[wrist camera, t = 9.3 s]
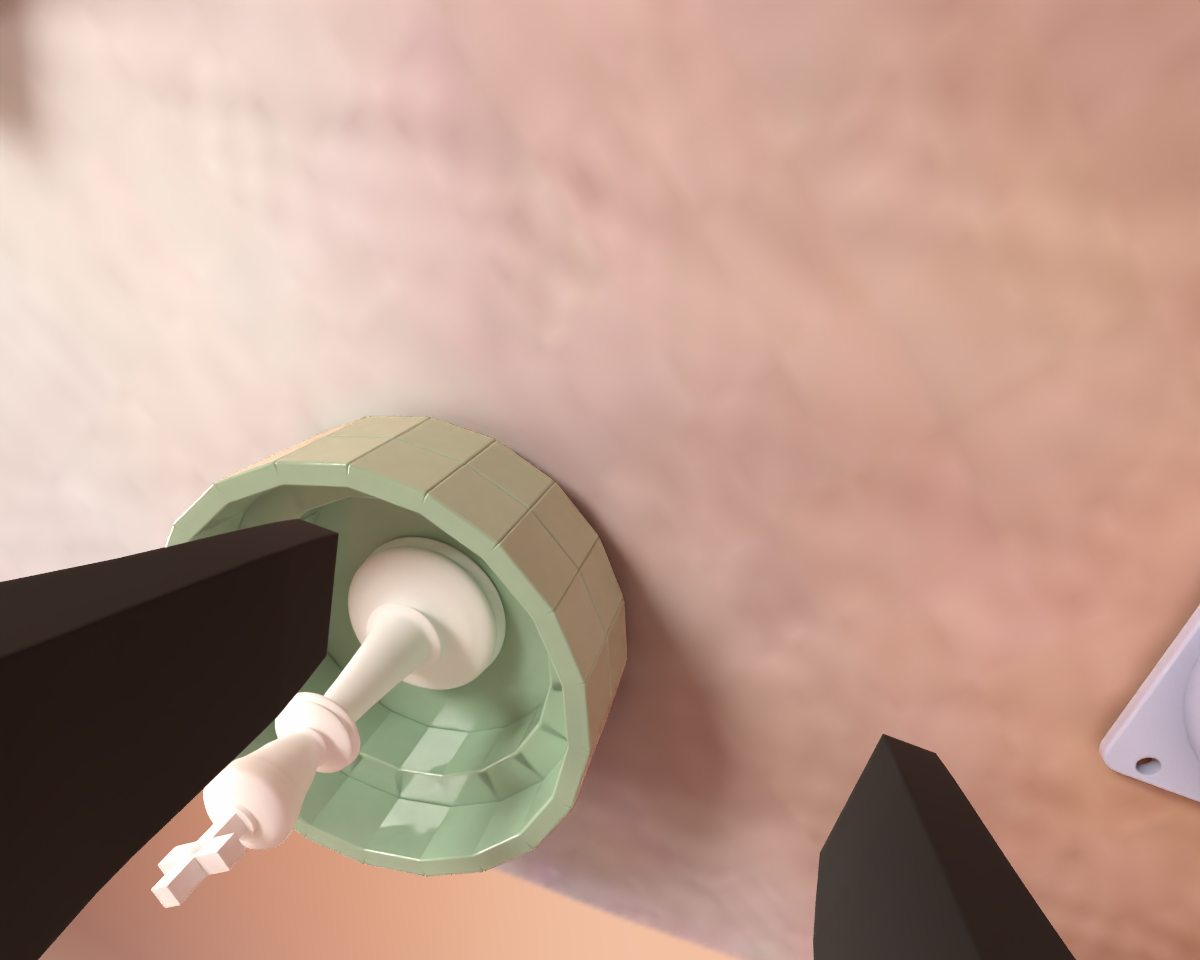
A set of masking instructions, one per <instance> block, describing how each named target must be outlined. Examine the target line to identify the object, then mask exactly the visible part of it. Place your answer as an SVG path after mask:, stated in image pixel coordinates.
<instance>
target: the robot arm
mask: <svg viewBox="0 0 1200 960" xmlns="http://www.w3.org/2000/svg"><path fill="white" fill-rule="evenodd" d="M338 536H339V533H337V532H334V531H331V530H329V529H326V528H323V527H320V526H318V525H315V524H312V523H310V522H307V521H304V520H301V519H299V518H298V519H292V520H285V521H279V522H274V523H269V524H264V525H259V526H254V527H250V528H245V529H241V530H237V531H232V532H228V533H224V534H219V535H215V536H211V537H207V538H203V539H198V540H194V541H190V542H186V543H181V544H177V545H173V546H168V547H164V548H160V549H156V550H151V551H147V552H143V553H139V554H134V555H130V556H126V557H121V558H117V559H112V560H107V561H103V562H98V563H93V564H88V565H83V566H78V567H73V568H68V569H63V570H58V571H53V572H49V573H44V574H39V575H34V576H29V577H24V578H19V579H14V580H9V581H4V582H0V960H38V959H39V958H40V957H41V955H42V954H43V953H44V952H45V951H46V950H47V949H48V948H49V946H50V945H51V944H52V943H53V942H54V941H55V940H56V939H57V937H58V936H59V935H60V934H61V933H62V932H63V931H64V930H65V928H66V927H67V926H68V925H69V924H70V923H71V922H72V920H73V919H74V918H75V917H76V916H77V914H79V913H80V911H81V910H82V909H83V908H84V907H85V906H86V905H87V903H88V902H89V901H90V900H91V899H92V898H93V897H94V896H95V894H96V893H97V892H98V891H99V890H100V889H101V888H102V887H103V886H104V885H105V884H106V883H107V882H108V881H109V880H110V879H111V878H112V877H113V876H114V875H115V874H116V873H117V872H118V871H119V870H120V869H121V868H122V867H123V865H125V864H126V863H127V862H128V861H129V859H130V858H131V857H132V856H134V854H136V853H137V851H138V850H140V849H141V848H142V847H143V846H144V845H145V844H146V843H147V842H148V841H149V840H150V839H151V838H152V837H153V836H154V835H155V834H157V833H158V832H159V830H161V829H162V828H163V827H164V826H165V825H166V824H167V823H168V822H169V821H170V820H171V819H172V818H173V817H174V816H175V815H176V814H177V813H178V812H180V811H181V810H182V809H183V808H184V807H185V806H186V805H187V804H188V803H189V802H190V801H191V800H192V799H193V798H194V797H195V796H196V795H197V794H198V793H199V792H200V791H201V790H203V789H204V788H205V787H206V786H207V785H208V784H209V783H210V782H211V781H212V780H213V779H214V778H215V777H216V776H217V775H218V774H219V773H220V772H221V771H222V770H224V769H225V768H226V767H227V766H228V765H229V764H230V763H231V762H232V761H233V760H234V759H235V758H236V757H237V756H238V755H239V754H240V753H241V752H242V751H243V750H244V749H245V748H246V747H247V746H248V745H249V744H250V743H251V742H252V741H253V740H254V739H256V738H257V737H258V736H259V735H260V734H261V733H262V732H263V731H264V730H265V729H266V728H267V727H268V726H269V725H270V724H271V723H272V722H273V721H274V720H275V719H276V718H277V717H278V716H279V714H280V713H281V712H282V711H283V710H284V708H285V707H286V706H287V705H288V704H289V702H290V701H291V700H292V699H293V698H294V696H295V695H296V694H297V693H298V692H299V690H300V689H301V688H302V687H303V685H304V684H305V683H306V682H307V680H308V679H309V678H310V676H311V675H312V674H313V673H314V671H315V670H316V669H317V667H318V666H319V665H320V664H321V662H322V661H323V660H324V658H325V657H326V656H327V646H328V636H329V626H330V616H331V606H332V596H333V586H334V576H335V566H336V556H337V546H338ZM1099 753H1100V755H1101V757H1102V759H1103V761H1104V763H1105V764H1106V765H1107V766H1108V768H1110V769H1112V770H1113V771H1115V772H1118V773H1120V774H1123V775H1126V776H1129V777H1131V778H1134V779H1137V780H1140V781H1142V782H1145V783H1148V784H1150V785H1153V786H1156V787H1159V788H1161V789H1164V790H1167V791H1170V792H1172V793H1175V794H1178V795H1180V796H1183V797H1186V798H1189V799H1191V800H1194V801H1197V802H1200V604H1199V606H1198V607H1197V609H1196V610H1195V611H1194V613H1193V614H1192V616H1191V617H1190V618H1189V620H1188V621H1187V623H1186V624H1185V625H1184V627H1183V628H1182V630H1181V631H1180V632H1179V634H1178V635H1177V636H1176V638H1175V639H1174V641H1173V642H1172V643H1171V645H1170V646H1169V648H1168V649H1167V650H1166V652H1165V653H1164V655H1163V656H1162V657H1161V659H1160V660H1159V662H1158V663H1157V664H1156V666H1155V667H1154V668H1153V670H1152V671H1151V673H1150V674H1149V675H1148V677H1147V678H1146V680H1145V681H1144V682H1143V684H1142V685H1141V687H1140V688H1139V689H1138V691H1137V692H1136V694H1135V695H1134V696H1133V698H1132V699H1131V701H1130V702H1129V703H1128V705H1127V706H1126V707H1125V709H1124V710H1123V712H1122V713H1121V714H1120V716H1119V717H1118V719H1117V720H1116V721H1115V723H1114V724H1113V726H1112V727H1111V728H1110V730H1109V731H1108V733H1107V734H1106V735H1105V737H1104V738H1103V739H1102V741H1101V743H1100V745H1099ZM1148 757H1149V758H1153V759H1152V760H1151V761H1150V762H1148V763H1144V764H1140V763H1137V762H1138V761H1139V760H1141V759H1143V758H1148ZM813 947H814V960H1076V959H1075V958H1074V956H1073V955H1072V953H1071V952H1070V951H1069V949H1068V948H1067V946H1066V945H1065V944H1064V942H1063V941H1062V939H1061V938H1060V936H1059V935H1058V933H1057V932H1056V931H1055V929H1054V928H1053V926H1052V925H1051V923H1050V922H1049V921H1048V919H1047V918H1046V916H1045V915H1044V913H1043V912H1042V910H1041V909H1040V907H1039V906H1038V904H1037V903H1036V902H1035V900H1034V899H1033V897H1032V896H1031V894H1030V893H1029V891H1028V890H1027V888H1026V887H1025V885H1024V884H1023V882H1022V881H1021V879H1020V878H1019V876H1018V875H1017V873H1016V872H1015V870H1014V869H1013V867H1012V866H1011V864H1010V863H1009V861H1008V860H1007V858H1006V857H1005V855H1004V854H1003V852H1002V851H1001V849H1000V848H999V846H998V845H997V843H996V842H995V840H994V839H993V837H992V836H991V834H990V833H989V831H988V830H987V828H986V827H985V825H984V824H983V822H982V821H981V819H980V817H979V816H978V814H977V813H976V811H975V810H974V808H973V807H972V805H971V804H970V802H969V801H968V799H967V798H966V796H965V795H964V793H963V792H962V790H961V789H960V787H959V786H958V784H957V783H956V781H955V780H954V778H953V777H952V775H951V774H950V773H949V771H948V770H947V768H946V767H945V765H944V764H943V763H942V761H941V760H940V759H939V757H938V756H937V754H936V753H933V752H931V751H928V750H925V749H922V748H920V747H917V746H914V745H912V744H909V743H906V742H903V741H901V740H898V739H895V738H893V737H890V736H887V735H885V734H883V735H882V737H881V738H880V740H879V742H878V744H877V746H876V748H875V750H874V752H873V754H872V756H871V757H870V759H869V761H868V763H867V765H866V767H865V769H864V771H863V773H862V774H861V776H860V778H859V780H858V782H857V784H856V786H855V788H854V790H853V791H852V793H851V795H850V797H849V799H848V801H847V803H846V805H845V807H844V808H843V810H842V812H841V814H840V816H839V818H838V820H837V822H836V824H835V826H834V827H833V829H832V831H831V833H830V835H829V837H828V839H827V841H826V843H825V844H824V846H823V848H822V850H821V852H820V859H819V871H818V882H817V893H816V907H815V922H814V938H813Z"/></svg>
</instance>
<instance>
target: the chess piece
mask: <svg viewBox="0 0 1200 960" xmlns="http://www.w3.org/2000/svg"><path fill="white" fill-rule="evenodd" d="M348 610H349V616H350V620H351V624H352V627H353V629H354V632H355V634H356V636H357V638H358V640H359V642H360V643H361V647H360V648H359V649H358V651H357V652H356V653H355V655H354V656H353V658H352V659H351V660H350V662H349V663H348V664H347V666H346V667H345V668H344V670H343V671H342V672H341V674H340V675H339V677H338V678H337V679H336V681H335V682H334V683H333V684H332V685H331V687H330V688H329V689H328V691H327V692H326V693H325V694H324V696H323V695H320V694H316V693H311V692H301V693H297V694H296V695H295V696H294V698H293V699H292V700H291V701H290V702H289V704H288V705H287V706H286V707H285V708H284V710H283V711H282V712H281V713H280V714H279V716H278V717H277V718H276V719H275V729H276V734H277V737H278V739H276V740H274V741H272V742H269V743H267V744H266V745H264V746H262V747H261V748H260V749H258V750H256V751H254V752H252V753H250V754H248V755H246V756H244V757H241V758H238V759H236V760H234V761H232V762H231V763H230V764H229V765H228V766H227V767H226V768H225V769H224V770H222V771H221V772H220V773H219V774H218V775H217V776H216V777H215V778H214V779H213V780H212V781H211V782H210V783H209V784H208V785H207V786H206V787H205V788H204V804H205V808H206V811H207V813H208V815H209V817H210V819H211V820H212V822H213V823H214V824H213V825H212V826H211V827H210V828H209V829H208V830H207V831H206V833H205V834H204V835H203V836H202V837H201V838H200V839H199V840H198V841H197V842H193V843H189V844H185V845H180V846H176V847H175V848H174V849H173V850H172V851H171V852H170V853H169V854H168V855H167V856H166V857H165V858H164V859H163V860H162V861H161V862H160V863H159V864H158V866H159V868H160V869H161V870H162V872H163V873H164V874H165V875H164V877H163V878H162V879H161V880H160V881H159V882H158V883H157V884H156V885H155V886H154V887H153V888H152V891H153V893H154V894H155V895H156V897H157V898H158V899H159V901H160V902H161V903H162V905H163V906H164V907H165V908H166V907H172V906H178V905H181V904H182V903H183V902H184V901H185V899H186V898H187V897H188V896H189V895H190V894H191V893H192V891H193V890H194V889H195V888H196V887H197V886H198V885H199V884H200V883H201V881H202V880H203V879H204V878H205V877H206V876H207V875H210V874H214V873H219V872H225V871H229V870H231V869H232V868H233V866H234V865H235V864H236V863H237V862H238V861H239V859H240V858H241V857H242V856H243V855H244V853H245V852H246V849H245V848H244V847H247V848H251V849H258V850H265V849H272V848H275V847H277V846H279V845H281V844H282V843H283V842H284V841H286V839H287V838H288V837H289V835H290V834H291V832H292V830H293V828H294V826H295V824H296V821H297V819H298V817H299V814H300V811H301V806H302V804H303V801H304V799H305V796H306V794H307V792H308V790H309V788H310V786H311V784H312V782H313V779H314V776H315V773H316V772H321V773H333V772H337V771H340V770H342V769H343V768H345V767H346V766H348V765H350V764H351V763H352V762H353V761H354V760H355V759H356V758H357V756H358V754H359V751H360V735H359V732H358V729H357V727H356V725H355V722H356V721H357V720H358V719H360V718H361V717H362V716H363V715H364V714H365V713H366V712H367V711H368V710H369V709H370V708H371V707H372V706H373V705H374V704H376V703H377V702H378V701H379V700H380V699H381V698H382V697H383V696H385V695H386V694H387V693H388V692H389V691H390V690H392V689H393V688H394V687H395V686H396V685H397V684H398V683H400V682H401V681H404V682H406V683H408V684H411V685H414V686H417V687H421V688H426V689H433V690H445V689H452V688H457V687H460V686H463V685H465V684H467V683H469V682H471V681H473V680H474V679H475V678H477V677H478V676H479V675H480V674H481V673H482V672H483V671H484V670H485V669H486V668H487V667H488V666H490V665H491V663H492V662H493V661H494V660H495V659H496V657H497V656H498V654H499V652H500V650H501V648H502V645H503V642H504V638H505V630H506V621H505V613H504V609H503V605H502V602H501V599H500V597H499V594H498V592H497V590H496V588H495V587H494V585H493V583H492V582H491V580H490V579H489V577H488V576H487V575H486V573H485V572H484V571H483V570H482V569H481V568H480V567H479V566H478V565H477V564H476V563H475V562H474V561H473V560H472V559H470V558H469V557H468V556H467V555H465V554H464V553H462V552H461V551H459V550H457V549H456V548H454V547H452V546H450V545H448V544H445V543H443V542H440V541H437V540H433V539H429V538H423V537H404V538H398V539H395V540H392V541H389V542H387V543H385V544H383V545H381V546H379V547H378V548H377V549H375V550H374V551H373V552H372V553H371V554H370V555H369V556H368V558H367V559H366V560H365V562H364V563H363V564H362V565H361V566H360V567H359V569H358V570H357V572H356V573H355V575H354V577H353V579H352V582H351V585H350V588H349V594H348Z"/></svg>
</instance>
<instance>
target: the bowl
mask: <svg viewBox="0 0 1200 960" xmlns="http://www.w3.org/2000/svg"><path fill="white" fill-rule="evenodd" d="M298 518H299V519H301V520H304V521H307V522H310V523H312V524H315V525H318V526H320V527H323V528H326V529H329V530H331V531H334V532H337V533H339V536H338V546H337V556H336V566H335V576H334V586H333V596H332V606H331V616H330V626H329V636H328V646H327V656H326V657H325V658H324V660H323V661H322V662H321V664H320V665H319V666H318V667H317V669H316V670H315V671H314V673H313V674H312V675H311V676H310V678H309V679H308V680H307V682H306V683H305V684H304V685H303V687H302V688H301V689H300V690H299V692H298V693H301V692H311V693H316V694H320V695H323V696H324V694H325V693H326V692H327V691H328V689H329V688H330V687H331V685H332V684H333V683H334V682H335V681H336V679H337V678H338V677H339V675H340V674H341V672H342V671H343V670H344V668H345V667H346V666H347V664H348V663H349V662H350V660H351V659H352V658H353V656H354V655H355V653H356V652H357V651H358V649H359V648H360V647H361V643H360V642H359V640H358V638H357V636H356V634H355V632H354V629H353V627H352V624H351V620H350V616H349V610H348V594H349V588H350V585H351V582H352V579H353V577H354V575H355V573H356V572H357V570H358V569H359V567H360V566H361V565H362V564H363V563H364V562H365V560H366V559H367V558H368V556H369V555H370V554H371V553H372V552H373V551H374V550H375V549H377V548H378V547H379V546H381V545H383V544H385V543H387V542H389V541H392V540H395V539H398V538H404V537H423V538H429V539H433V540H437V541H440V542H443V543H445V544H448V545H450V546H452V547H454V548H456V549H457V550H459V551H461V552H462V553H464V554H465V555H467V556H468V557H469V558H470V559H472V560H473V561H474V562H475V563H476V564H477V565H478V566H479V567H480V568H481V569H482V570H483V571H484V572H485V573H486V575H487V576H488V577H489V579H490V580H491V582H492V583H493V585H494V587H495V588H496V590H497V592H498V594H499V597H500V599H501V602H502V605H503V609H504V613H505V621H506V630H505V638H504V642H503V645H502V648H501V650H500V652H499V654H498V656H497V657H496V659H495V660H494V661H493V662H492V663H491V665H490V666H488V667H487V668H486V669H485V670H484V671H483V672H482V673H481V674H480V675H479V676H478V677H477V678H475V679H474V680H473V681H471V682H469V683H467V684H465V685H463V686H460V687H457V688H452V689H445V690H433V689H426V688H421V687H417V686H414V685H411V684H408V683H406V682H404V681H401V682H400V683H398V684H397V685H396V686H395V687H394V688H393V689H392V690H390V691H389V692H388V693H387V694H386V695H385V696H383V697H382V698H381V699H380V700H379V701H378V702H377V703H376V704H374V705H373V706H372V707H371V708H370V709H369V710H368V711H367V712H366V713H365V714H364V715H363V716H362V717H361V718H360V719H358V720H357V721H356V722H355V725H356V727H357V729H358V732H359V735H360V751H359V754H358V756H357V758H356V759H355V760H354V761H353V762H352V763H351V764H350V765H348V766H346V767H345V768H343V769H342V770H340V771H337V772H333V773H321V772H316V773H315V776H314V779H313V782H312V784H311V786H310V788H309V790H308V792H307V794H306V796H305V799H304V801H303V804H302V806H301V811H300V814H299V817H298V819H297V821H296V824H295V826H294V828H293V829H294V830H296V831H297V832H299V833H300V834H301V835H303V836H304V837H306V838H307V839H309V840H311V841H313V842H316V843H318V844H320V845H322V846H324V847H327V848H329V849H331V850H333V851H336V852H338V853H340V854H343V855H345V856H347V857H349V858H351V859H353V860H356V861H358V862H360V863H363V864H367V865H371V866H376V867H381V868H386V869H392V870H397V871H402V872H407V873H412V874H417V875H422V876H439V875H452V874H463V873H476V872H477V873H478V872H483V871H486V870H489V869H491V868H493V867H496V866H498V865H500V864H502V863H505V862H507V861H509V860H512V859H514V858H516V857H518V856H521V855H523V854H525V853H527V852H530V851H532V850H533V849H534V848H536V847H537V846H538V845H539V844H540V843H541V842H542V841H543V840H544V839H545V838H546V837H547V836H548V835H549V834H550V832H551V831H552V830H553V829H554V828H555V827H556V826H557V825H558V824H559V823H560V822H561V821H562V820H563V818H564V817H565V816H566V815H567V814H568V813H569V812H570V811H571V810H572V808H573V806H574V804H575V802H576V799H577V797H578V794H579V791H580V789H581V786H582V783H583V781H584V778H585V775H586V773H587V770H588V768H589V765H590V762H591V760H592V757H593V754H594V751H595V749H596V746H597V744H598V741H599V738H600V736H601V733H602V731H603V728H604V725H605V723H606V720H607V717H608V715H609V712H610V709H611V707H612V704H613V701H614V698H615V695H616V692H617V689H618V686H619V683H620V680H621V677H622V674H623V671H624V668H625V665H626V662H627V659H626V658H627V641H626V622H625V603H624V599H623V595H622V592H621V590H620V587H619V585H618V582H617V580H616V577H615V575H614V572H613V570H612V567H611V565H610V562H609V560H608V557H607V555H606V552H605V550H604V547H603V545H602V542H601V540H600V538H598V534H597V533H596V532H595V530H594V529H593V528H592V527H591V525H590V524H589V523H588V522H587V520H586V519H585V518H584V517H583V515H582V514H581V513H580V512H579V510H578V509H577V508H576V507H575V505H574V504H573V503H572V502H571V500H570V499H569V498H568V497H567V495H566V494H565V493H564V492H563V490H562V489H561V488H560V486H559V485H558V484H557V483H556V482H555V483H554V481H553V479H551V478H550V477H549V476H547V475H546V474H544V473H543V472H541V471H540V470H539V469H537V468H536V467H534V466H533V465H532V464H530V463H529V462H527V461H526V460H525V459H523V458H522V457H520V456H519V455H518V454H516V453H515V452H513V451H512V450H511V449H509V448H508V447H506V446H505V445H504V444H502V443H501V442H499V441H495V439H494V438H491V437H488V436H485V435H482V434H479V433H476V432H473V431H470V430H467V429H465V428H462V427H459V426H456V425H453V424H450V423H447V422H444V421H441V420H438V419H435V418H430V417H402V416H369V417H364V418H361V419H358V420H355V421H353V422H350V423H347V424H345V425H342V426H339V427H336V428H334V429H331V430H328V431H325V432H323V433H320V434H317V435H315V436H313V437H311V438H309V439H306V440H304V441H302V442H300V443H298V444H296V445H294V446H292V447H289V448H287V449H285V450H283V451H281V452H279V453H277V454H274V455H273V456H270V457H268V458H266V459H264V460H261V461H259V462H257V463H255V464H253V465H251V466H249V467H246V468H244V469H242V470H240V471H238V472H236V473H234V474H231V475H229V476H227V477H225V478H223V479H221V480H219V481H217V482H215V483H213V484H212V485H211V486H210V487H209V488H208V489H207V490H206V491H205V492H204V493H203V494H202V495H201V496H200V497H199V498H198V499H197V500H196V501H195V502H194V503H193V504H192V505H191V506H190V507H189V508H188V509H187V510H186V511H185V512H184V513H183V514H182V515H181V516H180V517H179V518H178V519H177V520H176V521H175V522H174V525H173V526H172V529H171V532H170V534H169V537H168V540H167V543H166V545H165V547H168V546H173V545H177V544H181V543H186V542H190V541H194V540H198V539H203V538H207V537H211V536H215V535H219V534H224V533H228V532H232V531H237V530H241V529H245V528H250V527H254V526H259V525H264V524H269V523H274V522H279V521H285V520H292V519H298ZM276 739H278V737H277V734H276V729H275V720H274V721H273V722H272V723H271V724H270V725H269V726H268V727H267V728H266V729H265V730H264V731H263V732H262V733H261V734H260V735H259V736H258V737H257V738H256V739H254V740H253V741H252V742H251V743H250V744H249V745H248V746H247V747H246V748H245V749H244V750H243V751H242V752H241V753H240V754H239V755H238V756H237V757H236V758H235V759H234V760H236V759H238V758H241V757H244V756H246V755H248V754H250V753H252V752H254V751H256V750H258V749H260V748H261V747H262V746H264V745H266V744H267V743H269V742H272V741H274V740H276ZM234 760H233V761H234Z"/></svg>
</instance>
